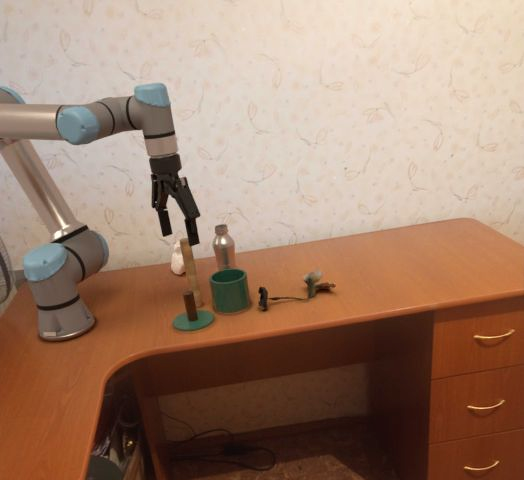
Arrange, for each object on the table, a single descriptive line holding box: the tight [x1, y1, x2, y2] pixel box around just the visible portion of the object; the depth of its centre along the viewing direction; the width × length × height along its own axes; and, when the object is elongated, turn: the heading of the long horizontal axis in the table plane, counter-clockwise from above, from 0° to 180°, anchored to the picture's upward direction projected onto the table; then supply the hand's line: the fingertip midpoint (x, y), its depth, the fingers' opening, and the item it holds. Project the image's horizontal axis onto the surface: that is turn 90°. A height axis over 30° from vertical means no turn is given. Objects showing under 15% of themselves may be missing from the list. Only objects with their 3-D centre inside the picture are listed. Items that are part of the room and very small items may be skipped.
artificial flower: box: [257, 268, 337, 311], centre depth 150 cm, size 9×22×10 cm, turn 106°
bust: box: [170, 240, 186, 276], centre depth 179 cm, size 12×8×11 cm
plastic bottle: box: [211, 223, 238, 271], centre depth 158 cm, size 6×7×20 cm
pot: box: [208, 268, 251, 314], centre depth 150 cm, size 10×10×10 cm
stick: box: [178, 237, 203, 307], centre depth 151 cm, size 3×3×20 cm
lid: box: [172, 290, 215, 332], centre depth 144 cm, size 11×11×9 cm
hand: (180, 240), depth 139 cm, fingers open, 13 cm apart
